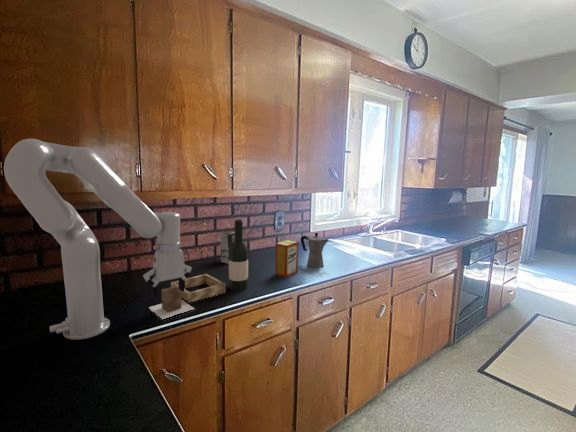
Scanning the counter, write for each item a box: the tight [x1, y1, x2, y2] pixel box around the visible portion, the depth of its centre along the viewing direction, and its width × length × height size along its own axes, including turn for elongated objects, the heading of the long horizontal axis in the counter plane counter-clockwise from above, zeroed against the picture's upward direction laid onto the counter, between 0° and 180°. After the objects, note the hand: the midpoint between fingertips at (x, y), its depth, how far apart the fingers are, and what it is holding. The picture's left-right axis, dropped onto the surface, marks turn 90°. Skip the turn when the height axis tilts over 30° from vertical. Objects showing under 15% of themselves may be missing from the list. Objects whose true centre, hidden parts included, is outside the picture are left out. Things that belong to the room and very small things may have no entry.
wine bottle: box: [228, 218, 249, 291], centre depth 137 cm, size 8×8×30 cm
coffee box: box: [220, 230, 235, 265], centre depth 174 cm, size 9×6×16 cm
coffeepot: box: [300, 232, 329, 269], centre depth 171 cm, size 15×9×18 cm, turn 67°
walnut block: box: [161, 286, 181, 312], centre depth 116 cm, size 5×5×7 cm
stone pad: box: [148, 299, 196, 321], centre depth 117 cm, size 12×12×1 cm
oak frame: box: [170, 273, 226, 304], centre depth 133 cm, size 16×15×4 cm
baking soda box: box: [274, 239, 299, 278], centre depth 157 cm, size 10×6×16 cm
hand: (168, 293), depth 115 cm, fingers open, 9 cm apart
